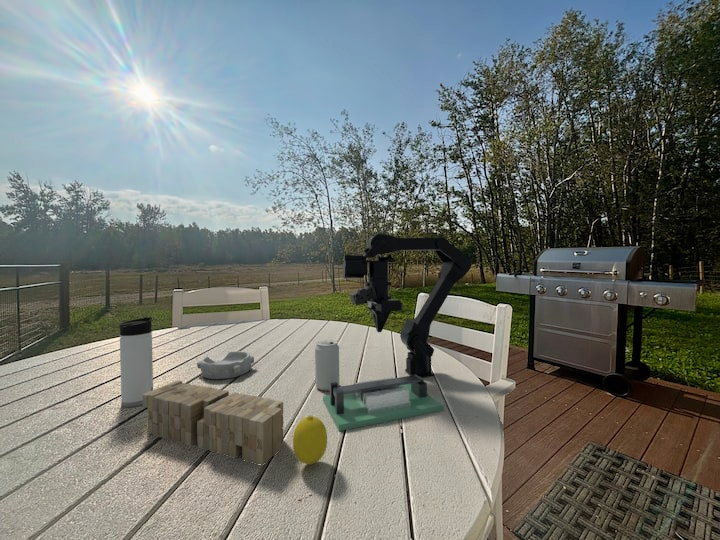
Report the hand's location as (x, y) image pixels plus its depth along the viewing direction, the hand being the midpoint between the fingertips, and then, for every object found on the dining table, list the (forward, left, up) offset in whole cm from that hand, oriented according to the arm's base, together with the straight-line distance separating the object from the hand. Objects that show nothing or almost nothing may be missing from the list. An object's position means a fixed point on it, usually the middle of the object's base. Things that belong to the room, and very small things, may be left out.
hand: (379, 332), depth 89 cm
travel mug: (+61, -6, -13) cm, 63 cm away
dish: (+42, -20, -13) cm, 48 cm away
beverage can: (+16, +2, -13) cm, 21 cm away
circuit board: (+7, +17, -13) cm, 22 cm away
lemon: (+26, +32, -13) cm, 43 cm away
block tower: (+42, +18, -14) cm, 47 cm away
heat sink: (+7, +17, -12) cm, 22 cm away
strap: (+7, +17, -9) cm, 21 cm away
